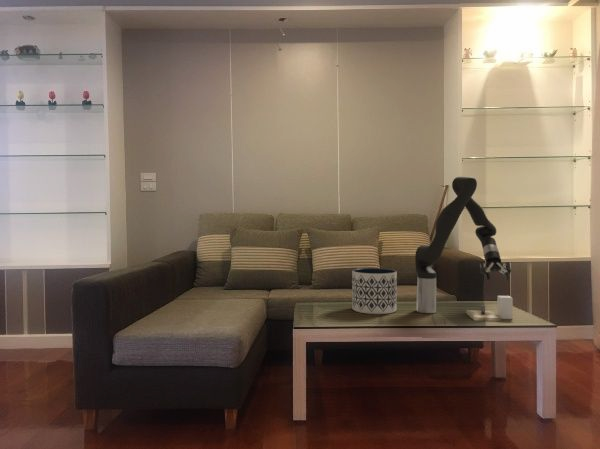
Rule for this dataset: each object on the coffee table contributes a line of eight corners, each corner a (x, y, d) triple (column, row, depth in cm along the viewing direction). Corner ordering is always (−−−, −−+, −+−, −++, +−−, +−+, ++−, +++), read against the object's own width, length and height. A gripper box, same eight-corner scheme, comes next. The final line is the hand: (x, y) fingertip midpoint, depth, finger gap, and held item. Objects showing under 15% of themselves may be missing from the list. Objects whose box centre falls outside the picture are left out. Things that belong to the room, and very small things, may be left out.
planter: (346, 312, 249) (346, 271, 249) (360, 304, 269) (360, 267, 269) (390, 316, 240) (390, 274, 239) (401, 308, 260) (401, 269, 259)
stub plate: (474, 320, 231) (474, 308, 231) (466, 313, 247) (466, 302, 247) (501, 321, 230) (501, 309, 230) (491, 313, 246) (491, 302, 246)
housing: (500, 318, 235) (500, 297, 235) (497, 316, 240) (497, 295, 240) (512, 318, 235) (512, 297, 234) (508, 316, 240) (509, 295, 240)
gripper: (478, 250, 258) (484, 275, 247) (507, 250, 256) (514, 275, 245) (476, 259, 263) (481, 284, 252) (504, 259, 262) (511, 284, 251)
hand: (498, 279), depth 249 cm, fingers open, 8 cm apart
